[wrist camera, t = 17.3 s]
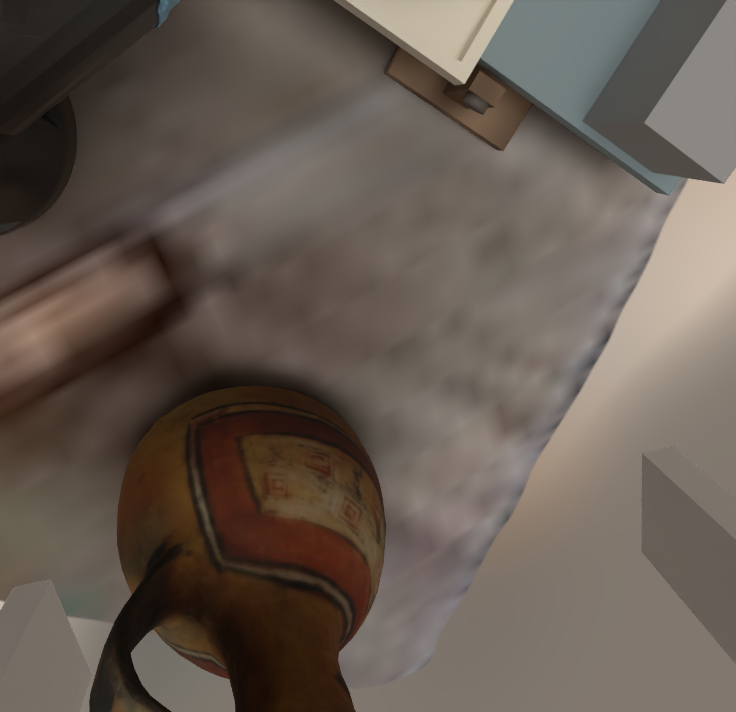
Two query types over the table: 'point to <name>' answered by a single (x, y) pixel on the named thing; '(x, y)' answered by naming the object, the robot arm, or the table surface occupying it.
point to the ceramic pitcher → (247, 550)
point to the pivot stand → (465, 98)
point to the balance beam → (595, 70)
